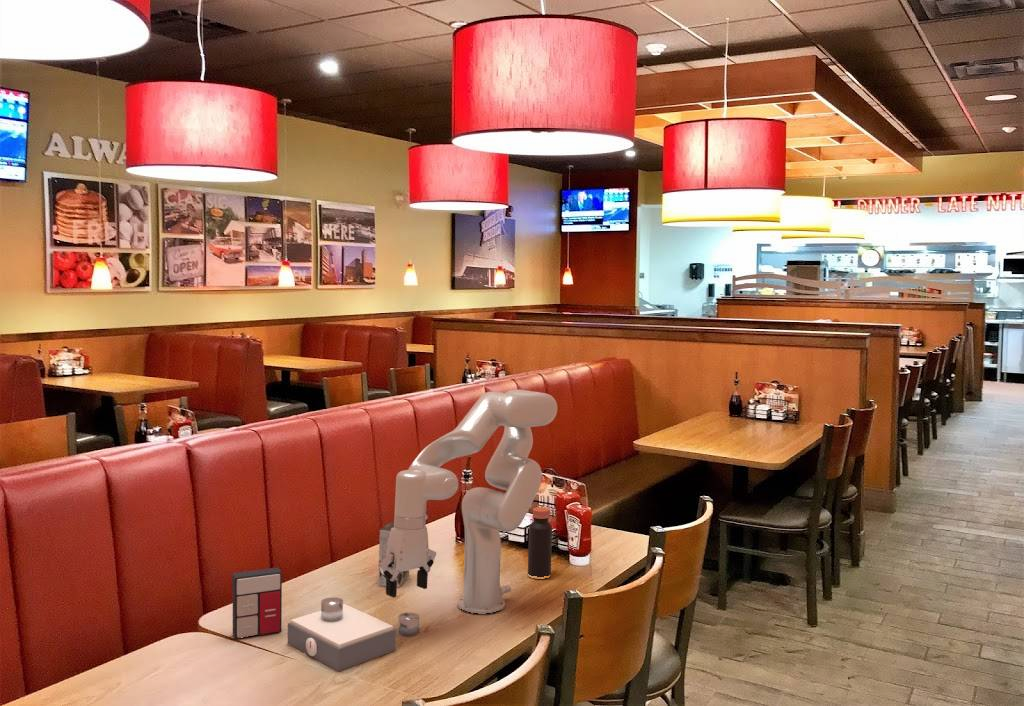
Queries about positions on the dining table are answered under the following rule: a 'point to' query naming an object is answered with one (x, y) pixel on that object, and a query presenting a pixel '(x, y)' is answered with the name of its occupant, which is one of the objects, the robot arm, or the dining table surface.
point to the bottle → (540, 543)
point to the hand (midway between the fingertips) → (406, 591)
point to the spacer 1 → (332, 609)
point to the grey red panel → (257, 602)
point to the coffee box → (382, 555)
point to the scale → (342, 638)
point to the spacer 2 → (408, 624)
